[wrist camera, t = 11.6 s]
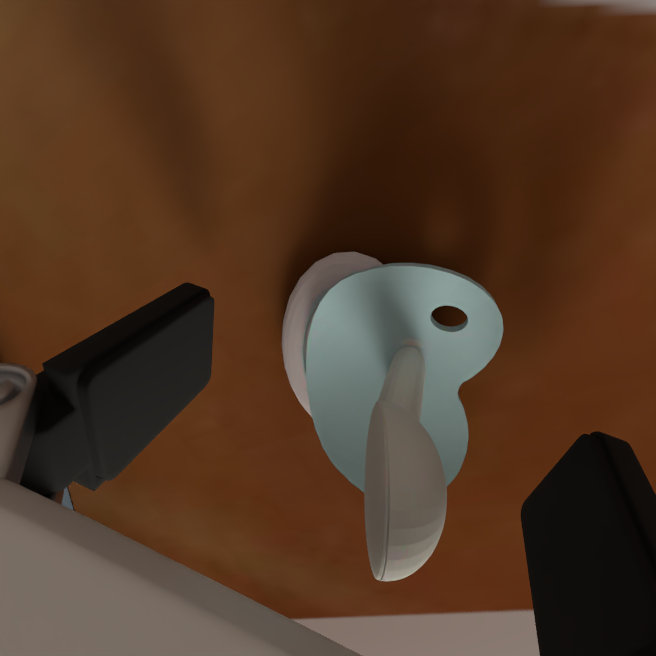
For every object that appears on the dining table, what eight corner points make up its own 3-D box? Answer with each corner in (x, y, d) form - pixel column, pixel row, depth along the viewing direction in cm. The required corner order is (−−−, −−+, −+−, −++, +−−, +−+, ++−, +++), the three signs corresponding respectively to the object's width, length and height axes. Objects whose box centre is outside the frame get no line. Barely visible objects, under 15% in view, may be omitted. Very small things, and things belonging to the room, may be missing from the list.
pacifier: (292, 414, 14) (455, 460, 12) (184, 583, 9) (440, 700, 7) (288, 219, 10) (518, 247, 9) (104, 312, 5) (577, 423, 4)
